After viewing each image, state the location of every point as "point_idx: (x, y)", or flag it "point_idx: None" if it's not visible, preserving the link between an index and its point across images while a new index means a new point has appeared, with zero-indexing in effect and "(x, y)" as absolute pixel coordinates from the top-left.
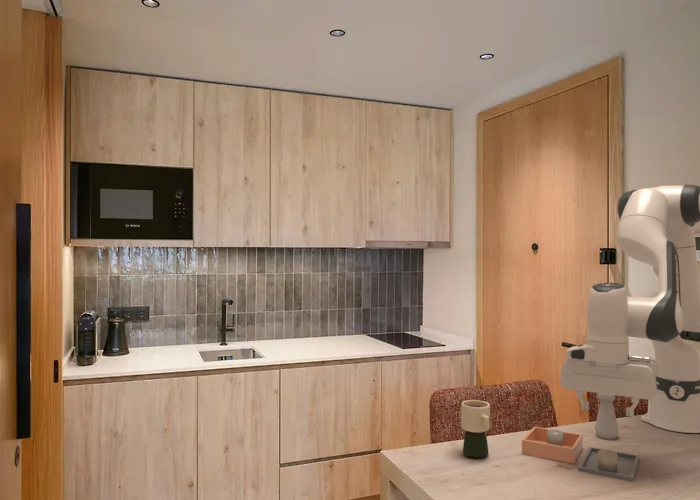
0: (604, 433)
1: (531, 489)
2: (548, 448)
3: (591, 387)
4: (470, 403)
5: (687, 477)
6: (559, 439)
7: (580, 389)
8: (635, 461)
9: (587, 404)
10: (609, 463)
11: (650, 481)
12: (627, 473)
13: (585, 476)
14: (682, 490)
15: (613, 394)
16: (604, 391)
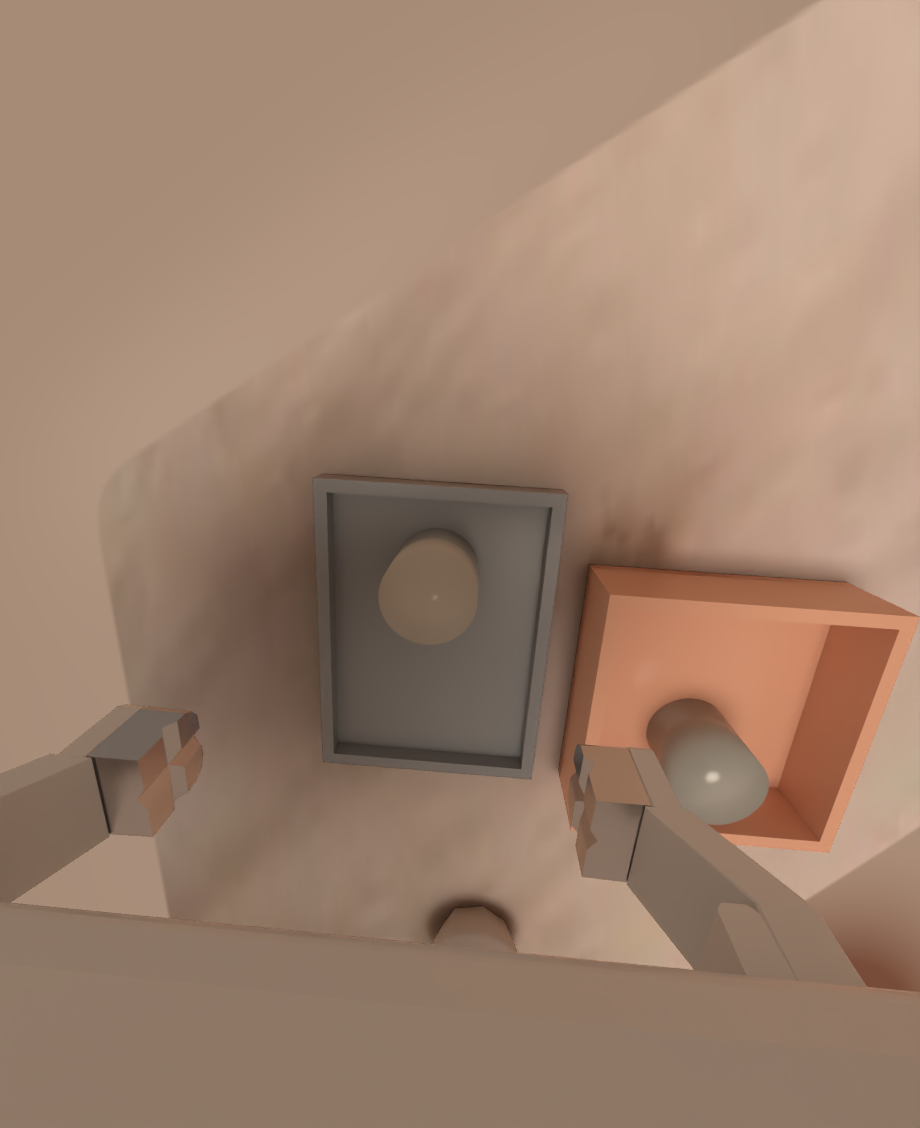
0: (478, 932)
1: (806, 98)
2: (744, 596)
3: (607, 1082)
4: None
5: (145, 658)
6: (685, 741)
7: (828, 1000)
8: (327, 687)
9: (597, 787)
10: (419, 540)
11: (262, 544)
12: (352, 565)
13: (529, 460)
14: (136, 505)
15: (153, 922)
16: (307, 978)
